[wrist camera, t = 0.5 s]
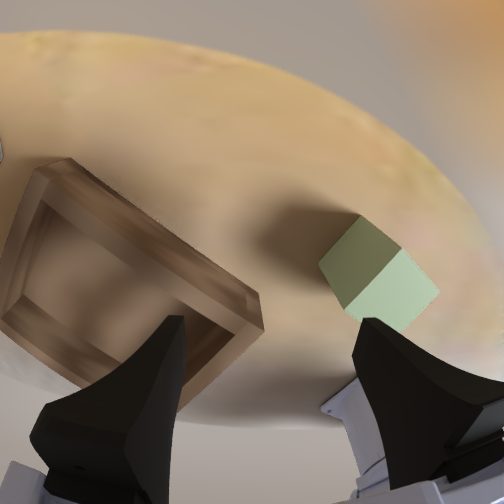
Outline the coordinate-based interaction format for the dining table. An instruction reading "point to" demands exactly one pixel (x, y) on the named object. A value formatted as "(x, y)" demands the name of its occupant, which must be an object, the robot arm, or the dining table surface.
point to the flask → (0, 153)
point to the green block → (376, 277)
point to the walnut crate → (113, 284)
